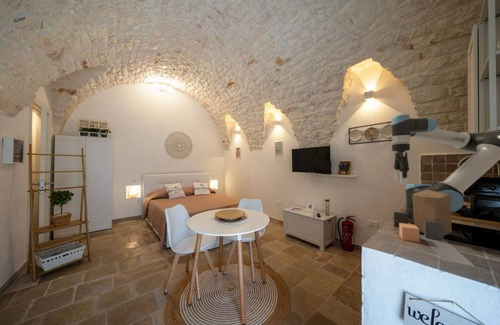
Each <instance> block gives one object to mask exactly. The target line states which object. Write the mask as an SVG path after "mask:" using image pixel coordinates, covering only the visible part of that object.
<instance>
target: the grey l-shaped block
mask: <svg viewBox="0 0 500 325" xmlns="http://www.w3.org/2000/svg"><path fill="white" fill-rule="evenodd" d="M421 237H422V238H423V239H424V241H425V242H426V243H427V244H428V245H429V246H430V248H432V250H433V251H434V252H435V253H436V254H437V256H438V257H440V259H441V260H442V261H444V262H449V263H454V264H460V265H466V266H471V267H475V265H474V264H473V263H472V262H471V261H470V260H469V259H467V258H466V257H465V255H463V254H462V253H460V251H458V250H457V249H456V248H455V247H454V246H452V244H451V243H449V242H448V241H447V240H446V239H444V236H443V223H442V222H438V221H428V220H424V233H423V235H421Z"/></svg>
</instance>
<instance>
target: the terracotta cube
mask: <svg viewBox="0 0 500 325" xmlns="http://www.w3.org/2000/svg"><path fill="white" fill-rule="evenodd" d="M399 235H400V237H401V238H402V240H407V241H414V242H419V239H420V231H419V228H418V227H417V226H416V225H414V224H413V223H408V224H404V223H399Z"/></svg>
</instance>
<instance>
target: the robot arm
mask: <svg viewBox="0 0 500 325" xmlns="http://www.w3.org/2000/svg"><path fill="white" fill-rule="evenodd" d="M437 126H438V124H437V120H436V119H435V118H433V117H428V116H427V117H418V118H411V116H410V114H406V113H405V114H404V113H403V114H397V115H394V116H393V117H392V118H391V138H390V140H391V143H392V145H391V151H392V152H395V153H394V156H395V157H394V165H393V168H394V182H400V185H405V188H404V189H405V209H404V211H403V213H408V224H412V225H414V210H413V194H415V193H418V192H421V191H424V190H431V191H436V192H441V193H446V194H450V195H451V214H452V213H454V212H457V211H459V210H460V209H461V208H462V207H463V205H464V201H465V200H464V197H465V194H464V192H465V191H467V189H469V187H471V186H472V185H473V184H474V183H475V182H476V181H477V180H479V179H480V178H481V177H482V176H483V175H484V174H485V173H487V172H488V171H489V170H490V169H491V168H492V167H493V166H494V165H495V164H497V163H498V161H500V130H499V131H498V130H491V131H482V132H465V131H462V132H458V131H457V132H456V131H452V130H451V131H450V130H446V129H441V128H437ZM411 138H413V139H414V138H416V139H418V140H423V141H429V142H435V143H440V144H444V145H449V146H453V147H454V148H455V149H459V150H464V151H469V152H474V153H473V154H472V155H471V156H470V157H469V158H468V159H467V160H466V161H464V162H463V163H462V164H461V165H460V166H459V167H457V169H455V170H454V171H453V172H452V173H450V175H449V176H448V177H447V178H446V179H444V180H443V181H437V182H436V183H434V185H432V184H431V183H409V174H408V172H409V171H410V167H409V158H408V152H409V151H410V150H411V144H410V142H411ZM407 151H408V152H407Z"/></svg>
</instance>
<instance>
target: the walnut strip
mask: <svg viewBox="0 0 500 325" xmlns="http://www.w3.org/2000/svg"><path fill="white" fill-rule="evenodd" d="M399 223H404V224H409V222H408V213H404V211H402V212H399V211H393V225H391V226H390V227H391V229H392V230H393V231H394V232H395V235H396V236H397V238H398V239H399V241H400V243H401V244H406V245H407V244H408V245H413V246H419V247H426V245H425V244H424V243H423V242H422V241H421V239H420V238H419V242H414V241H407V240H402V238H401V237H400V235H399Z"/></svg>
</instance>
